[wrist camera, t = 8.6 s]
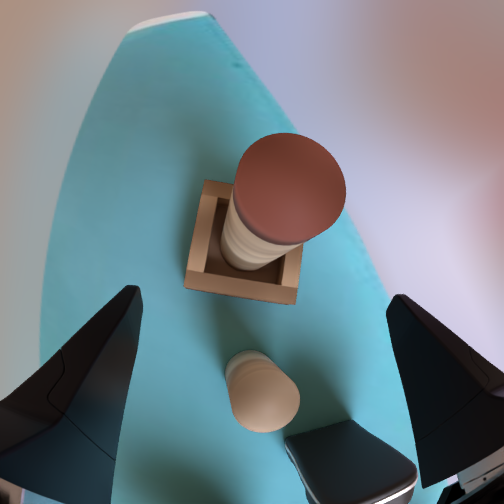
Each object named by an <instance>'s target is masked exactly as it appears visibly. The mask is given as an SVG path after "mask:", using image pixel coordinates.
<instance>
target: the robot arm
mask: <svg viewBox="0 0 504 504" xmlns="http://www.w3.org/2000/svg"><path fill="white" fill-rule="evenodd" d="M142 313H143V302H142V297H141V291H140V288H139V286H136V285H127V286H125V287H124V288H123V289H122V290H121V291H120V292H119V293H118V294H116V295H115V296H114V297H113V298H112V299H111V300H110V301H109V302H108V303H107V304H106V305H105V306H104V307H102V308H101V309H100V310H99V311H98V312H97V313H96V314H95V315H94V316H93V317H92V318H91V319H90V320H89V321H88V322H87V323H86V324H85V325H84V326H83V327H81V328H80V329H79V330H78V331H77V332H76V333H75V334H74V335H73V336H72V337H71V338H70V339H69V340H68V341H67V342H66V343H65V344H64V345H63V346H62V347H61V349H59V350H58V351H57V352H56V353H55V354H54V355H53V356H52V357H51V358H50V359H49V360H48V361H47V362H46V363H45V364H44V365H43V366H42V367H41V368H40V369H39V370H37V371H36V372H35V373H34V374H33V375H32V376H31V377H29V378H28V379H27V380H26V381H25V382H23V383H22V384H21V385H20V386H19V387H18V388H17V389H15V390H14V391H13V392H12V393H11V394H10V395H8V396H7V397H6V398H4V399H3V400H1V401H0V504H111V494H112V485H113V477H114V469H115V460H116V454H117V448H118V442H119V436H120V430H121V424H122V419H123V414H124V408H125V403H126V399H127V394H128V389H129V384H130V380H131V375H132V371H133V367H134V363H135V358H136V354H137V349H138V342H139V334H140V327H141V320H142ZM386 318H387V323H388V328H389V333H390V338H391V343H392V348H393V352H394V356H395V359H396V363H397V366H398V370H399V374H400V378H401V381H402V385H403V389H404V393H405V397H406V402H407V406H408V410H409V415H410V419H411V424H412V429H413V434H414V439H415V445H416V451H417V457H418V463H419V470H420V477H421V484H422V488H423V489H424V488H427V487H429V486H431V485H434V484H436V483H438V482H440V481H443V480H445V479H447V478H449V477H451V476H453V475H455V474H457V477H458V481H457V482H455V483H453V484H451V485H449V486H447V487H445V488H444V489H443V491H442V493H441V496H440V498H439V500H438V502H437V504H504V373H503V372H502V371H501V370H499V369H498V368H497V367H495V366H494V365H493V364H491V363H490V362H489V361H487V360H486V359H485V358H484V357H482V356H481V355H480V354H479V353H477V352H476V351H475V350H474V349H473V348H472V347H470V346H468V344H467V343H466V342H464V341H463V340H462V339H461V338H459V337H458V336H457V335H456V334H455V333H453V332H452V331H451V330H450V329H448V328H447V327H446V326H445V325H444V324H442V323H441V322H440V321H438V320H437V319H436V318H435V317H433V316H432V315H431V314H430V313H428V312H427V311H426V310H424V309H423V308H422V307H420V306H419V305H418V304H417V303H416V302H414V301H413V300H412V299H410V298H409V297H408V296H406V295H404V294H397V295H395V296H394V297H393V299H392V301H391V302H390V304H389V306H388V308H387V310H386Z"/></svg>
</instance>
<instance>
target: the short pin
mask: <svg viewBox="0 0 504 504" xmlns="http://www.w3.org/2000/svg"><path fill="white" fill-rule="evenodd" d="M225 379H226V384H227V388H228V393H229V398H230V403H231V407H232V412H233V415H234V417H235V418H236V420H237V421H238V422H239V423H240V424H241V425H242V426H243V427H245V428H246V429H248V430H251V431H254V432H261V433H265V432H272V431H275V430H278V429H280V428H282V427H284V426H285V425H287V424H288V423H289V422H290V421H291V420H292V419H293V418H294V416H295V415H296V413H297V411H298V408H299V404H300V395H299V391H298V388H297V386H296V385H295V383H294V382H293V381H292V380H291V379H290V378H289V377H288V376H287V375H286V374H285V373H284V372H283V371H282V370H281V369H280V368H279V367H278V366H277V365H276V364H275V363H274V362H273V361H272V360H271V359H270V358H269V357H267V356H266V355H265V354H263V353H261V352H259V351H255V350H246V351H242V352H240V353H238V354H236V355H235V356H233V357H232V358H231V359H230V361H229V362H228V364H227V366H226V369H225Z"/></svg>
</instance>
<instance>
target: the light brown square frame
mask: <svg viewBox="0 0 504 504" xmlns="http://www.w3.org/2000/svg"><path fill="white" fill-rule="evenodd" d="M233 185H234V184H228V183H223V182H217V181H211V180H205V181H204V185H203V190H202V194H201V199H200V203H199V208H198V213H197V218H196V222H195V227H194V232H193V237H192V243H191V248H190V253H189V258H188V264H187V269H186V275H185V281H184V287H185V288H186V289H192V290H197V291H203V292H209V293H214V294H220V295H226V296H232V297H239V298H245V299H251V300H258V301H264V302H271V303H278V304H285V305H289V304H293V305H295V303H296V296H297V289H298V282H299V275H300V267H301V259H302V251H303V244H301V245H299V246H298V247H296V248H294V249H292V250H291V251H289V252H287V253H285V254H284V255H282V256H280V257H278V258H277V259H275V260H273V261H271V262H270V263H268V264H266V265H264V266H263V267H261V268H259V269H257V270H255V271H251V272H241V271H237V270H235V269H233V268H231V267H230V266H229V265H228V264H227V263H226V262H225V261H224V259H223V257H222V255H221V252H220V240H221V236H222V231H223V227H224V223H225V219H226V214H227V210H228V206H229V202H230V198H231V193H232V189H233Z"/></svg>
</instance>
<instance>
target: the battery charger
mask: <svg viewBox="0 0 504 504" xmlns="http://www.w3.org/2000/svg"><path fill="white" fill-rule="evenodd" d="M285 448H286V449H287V454H288V457H289V458H290V460H291V462H292V463H293V464H294V466H295V467H296V469H297V471H298V474H299V476H300V478H301V481H302V483H303V485H304V487H305V491H306V497H307V500H308V502H309V504H408V502H409V501H410V500H411V498H412V495H413V492H414V487H415V484H416V482H417V478H418V472H417V468H416V466H415V464H414V463H413V462H412V461H411V460H409V459H408V458H407V457H405V456H404V455H403V454H401V453H400V452H399V451H397V450H396V449H394V448H393V447H391V446H390V445H388V444H387V443H385V442H384V441H382V440H381V439H379V438H377V437H376V436H374V435H373V434H371V433H369V432H368V431H367V430H365V429H364V428H363V427H361V426H360V425H359V424H357V423H356V422H355V421H354V420H348V421H344V422H341V423H338V424H334V425H331V426H327V427H324V428H320V429H317V430H313V431H309V432H305V433H302V434H298V435H294V436H290V437H287V438H286V443H285Z"/></svg>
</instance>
